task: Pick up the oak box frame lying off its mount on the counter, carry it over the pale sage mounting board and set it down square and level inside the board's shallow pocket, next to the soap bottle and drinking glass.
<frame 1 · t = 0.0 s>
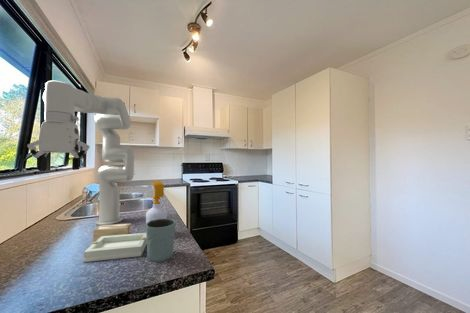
hand: (59, 169, 67), 31 cm above the countertop, tool pointing down, fingers open, 9 cm apart
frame: (113, 237, 88), on the countertop
drinking glass: (160, 256, 71), on the countertop
soap bottle: (156, 234, 91), on the countertop
board: (120, 249, 76), on the countertop
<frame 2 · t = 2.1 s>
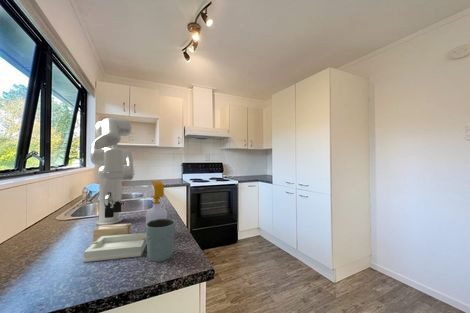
hand: (113, 214, 87), 10 cm above the countertop, tool pointing down, fingers open, 9 cm apart
nothing on the countertop moved.
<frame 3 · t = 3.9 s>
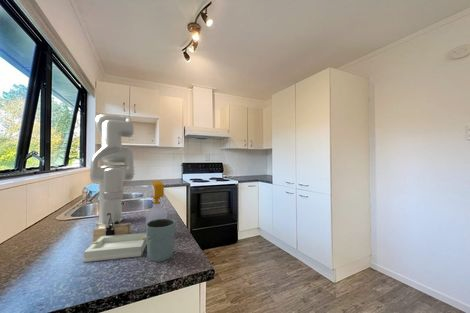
hand: (113, 235, 88), 1 cm above the countertop, tool pointing down, fingers closed on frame, 6 cm apart
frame: (112, 237, 88), on the countertop, touching gripper
everything else where it was.
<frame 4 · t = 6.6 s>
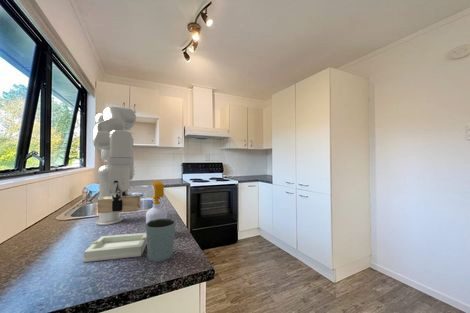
hand: (120, 208, 76), 16 cm above the countertop, tool pointing down, fingers closed on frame, 6 cm apart
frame: (120, 210, 76), point 15 cm above the countertop, touching gripper
everything else where it was.
when the fingers open (4 cm above the countertop, at t = 9.6 s): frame drops 2 cm, resting on board.
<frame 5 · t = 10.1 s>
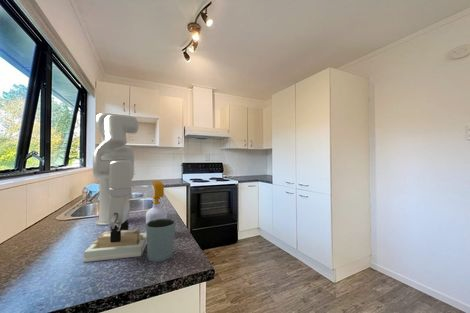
hand: (120, 236, 76), 5 cm above the countertop, tool pointing down, fingers open, 9 cm apart
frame: (119, 246, 76), point 1 cm above the countertop, touching board
everything else where it was.
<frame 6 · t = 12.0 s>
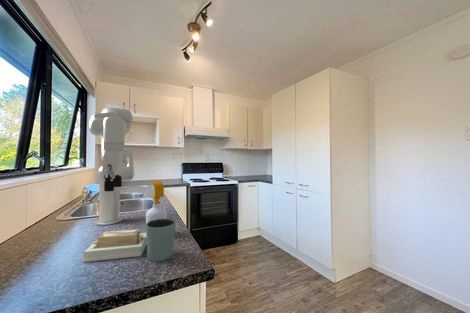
hand: (113, 188, 82), 22 cm above the countertop, tool pointing down, fingers open, 9 cm apart
nothing on the countertop moved.
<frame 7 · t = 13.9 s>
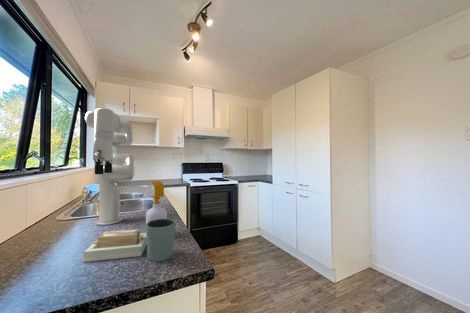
hand: (103, 173, 90), 28 cm above the countertop, tool pointing down, fingers open, 9 cm apart
nothing on the countertop moved.
at the end: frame 0.1 cm off-centre on the board, point 1.2 cm above the board's base; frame tilted 0°; the gripper is holding nothing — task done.
